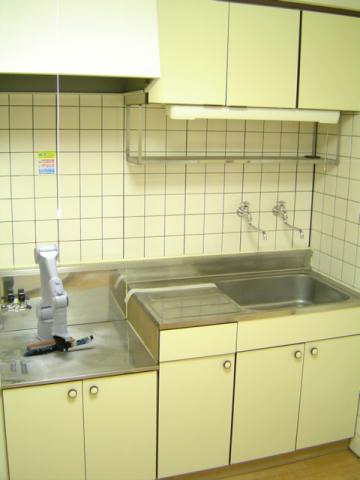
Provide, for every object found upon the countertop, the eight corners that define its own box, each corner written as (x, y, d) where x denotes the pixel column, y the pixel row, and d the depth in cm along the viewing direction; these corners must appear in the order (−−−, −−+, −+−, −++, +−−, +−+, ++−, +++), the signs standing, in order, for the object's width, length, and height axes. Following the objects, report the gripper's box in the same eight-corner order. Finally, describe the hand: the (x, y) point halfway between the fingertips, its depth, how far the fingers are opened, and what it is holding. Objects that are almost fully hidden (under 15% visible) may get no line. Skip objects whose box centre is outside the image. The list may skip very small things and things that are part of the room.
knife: (94, 344, 240) (92, 334, 240) (95, 344, 237) (93, 334, 237) (24, 361, 231) (22, 350, 231) (24, 361, 228) (22, 351, 229)
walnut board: (26, 349, 236) (26, 344, 236) (67, 338, 249) (67, 334, 248) (33, 354, 231) (33, 350, 231) (75, 343, 244) (75, 339, 243)
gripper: (43, 318, 233) (44, 347, 236) (59, 328, 222) (60, 359, 225) (58, 315, 237) (59, 344, 240) (74, 325, 226) (75, 355, 229)
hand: (60, 351), depth 233 cm, fingers closed, pressing on knife
